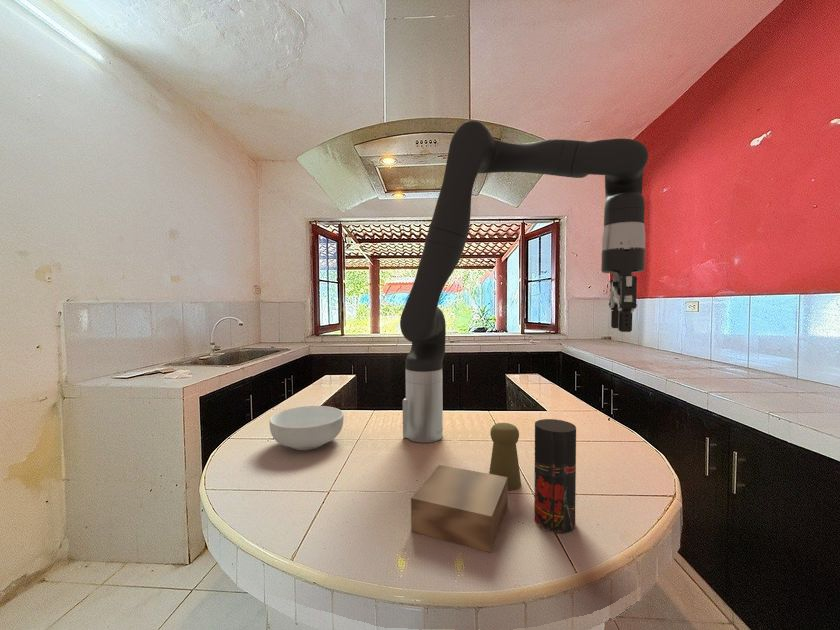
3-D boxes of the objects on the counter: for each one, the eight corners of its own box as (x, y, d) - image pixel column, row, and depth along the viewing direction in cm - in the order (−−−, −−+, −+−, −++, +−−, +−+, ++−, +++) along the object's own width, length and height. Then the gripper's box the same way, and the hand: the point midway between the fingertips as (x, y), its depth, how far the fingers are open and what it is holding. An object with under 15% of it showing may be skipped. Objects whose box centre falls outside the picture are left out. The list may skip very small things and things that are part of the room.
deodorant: (528, 511, 60) (528, 419, 59) (563, 509, 60) (564, 418, 59) (543, 534, 54) (544, 432, 53) (583, 532, 54) (584, 431, 54)
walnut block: (411, 531, 55) (410, 498, 54) (439, 492, 66) (439, 464, 65) (491, 552, 50) (491, 516, 50) (507, 506, 61) (507, 477, 61)
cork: (522, 492, 65) (522, 431, 65) (487, 489, 67) (487, 429, 66) (520, 476, 71) (520, 420, 71) (488, 473, 73) (488, 418, 72)
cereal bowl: (286, 466, 77) (285, 432, 77) (259, 443, 89) (259, 414, 89) (357, 444, 88) (356, 415, 88) (324, 427, 101) (324, 401, 100)
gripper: (597, 253, 81) (595, 326, 82) (607, 244, 68) (605, 332, 68) (636, 252, 79) (634, 327, 79) (654, 242, 65) (651, 333, 66)
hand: (620, 329), depth 74 cm, fingers open, 8 cm apart
